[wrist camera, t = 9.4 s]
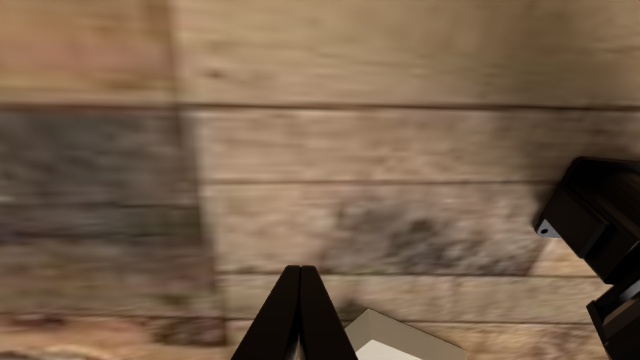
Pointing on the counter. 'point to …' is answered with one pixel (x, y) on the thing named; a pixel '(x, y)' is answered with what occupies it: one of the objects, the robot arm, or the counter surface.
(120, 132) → the counter surface
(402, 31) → the counter surface
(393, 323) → the door block
